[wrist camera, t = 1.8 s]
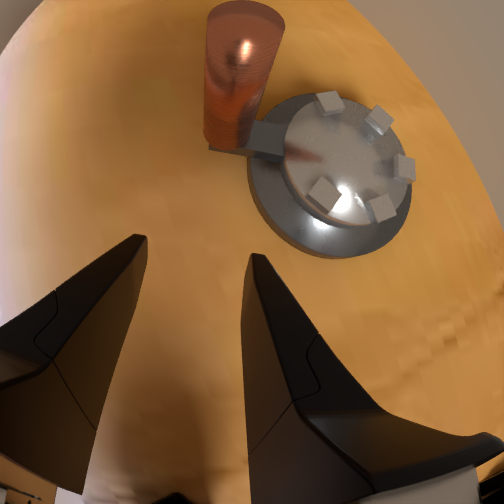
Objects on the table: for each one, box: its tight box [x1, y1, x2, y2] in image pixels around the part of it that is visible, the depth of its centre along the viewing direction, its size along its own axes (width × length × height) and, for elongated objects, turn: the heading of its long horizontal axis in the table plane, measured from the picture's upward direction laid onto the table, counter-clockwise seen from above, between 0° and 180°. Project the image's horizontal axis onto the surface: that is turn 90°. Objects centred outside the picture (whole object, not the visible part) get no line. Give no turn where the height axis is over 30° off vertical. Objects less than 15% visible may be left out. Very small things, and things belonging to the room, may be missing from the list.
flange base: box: [247, 93, 412, 259], centre depth 24 cm, size 14×21×2 cm, turn 37°
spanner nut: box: [203, 0, 416, 229], centre depth 17 cm, size 16×10×12 cm, turn 82°
